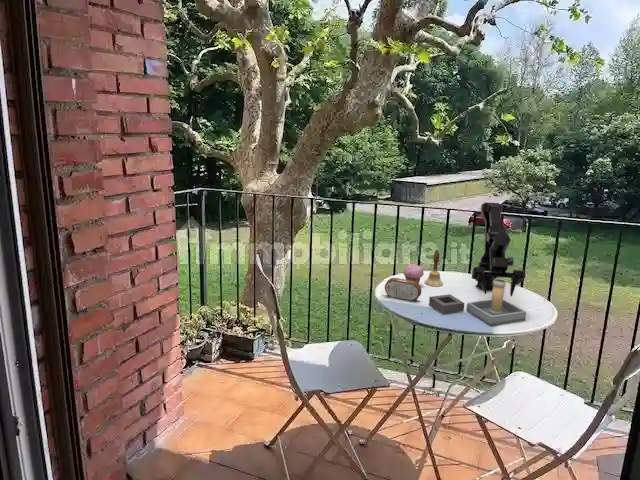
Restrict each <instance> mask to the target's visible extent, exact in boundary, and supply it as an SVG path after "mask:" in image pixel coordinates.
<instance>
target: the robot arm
mask: <svg viewBox="0 0 640 480" xmlns="http://www.w3.org/2000/svg"><path fill="white" fill-rule="evenodd" d="M480 213H481V219H483V222H484V223H485V224H484V248H483V255H482V256H481V258H480V260H479V262H478V265H477V266H474V267H473V268H472V271H471V279H472V280H475V281H476V282H477V283H476V285H475V288H478V289H480V290H482V291H483V293H484V295H487V292H488V291H493V280H495V279H496V278H506V279H507V278H510V280H511V282H510V290H509V291H510V293H509V295H510V297H513V294H514V291H515V288H516V286H517V285H520V284H522V283H523V282H524V280H525V278H526V272H525V270H523V269H513V270H512V272H507V271H508V267H513V266H514V257H513V256H508V257H507V258H506V252H507V249H508V247H509V245H510V243H511V238H510V236H509V233H507V229H506V228H505V227H504V226H503V224H502V217H501V214H502V213H503V204H501V203H499V202H483V203H482V204H481V205H480Z"/></svg>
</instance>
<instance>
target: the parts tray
mask: <svg viewBox="0 0 640 480" xmlns="http://www.w3.org/2000/svg"><path fill="white" fill-rule="evenodd" d="M491 300H492V299H486V300H477V301H470V302H467V304H466V313H469V314H470V315H472V316H473V317H475V318H477V319H479V321H482V322H483V323H484V324H486V325H488V326H490V327H492V326H493V327H494V326H497V325H507V324H511V323H519V322H525V321H526V318H527V311H526V310H524V309H522V308H520V307H518V306H517V305H514V304H512V303H510V302H508V301H506V300H505V299H503V303H502V314H500V315H492V314H490V313H489V312H490V308H491Z"/></svg>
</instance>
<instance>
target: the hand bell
mask: <svg viewBox="0 0 640 480" xmlns="http://www.w3.org/2000/svg"><path fill="white" fill-rule="evenodd" d="M432 259H433V269H432V270H431V271H429V275H428V278H426V280H424V284H425V285H426V286H429V287H436V288H438V287H442V286H444V283H443V281H442V280H441V273H440V271H438V263H439V261H440V252H439V249H435V251H434V253H433V258H432Z"/></svg>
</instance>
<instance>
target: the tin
mask: <svg viewBox="0 0 640 480" xmlns="http://www.w3.org/2000/svg"><path fill="white" fill-rule="evenodd" d="M384 290H385V293H386V294H387V296H388V297H390V298H393V299H398V300H402V301H409V302H415V301H416V300H418V299H419V298H420V296H421V295H422V288H421V286H420V283H419V284H418V283H416V282H415V281H411V280H406V278H405V279H403V278H399V277H391V278H389V279H388V280H387V281H386V283H385V285H384Z"/></svg>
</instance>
